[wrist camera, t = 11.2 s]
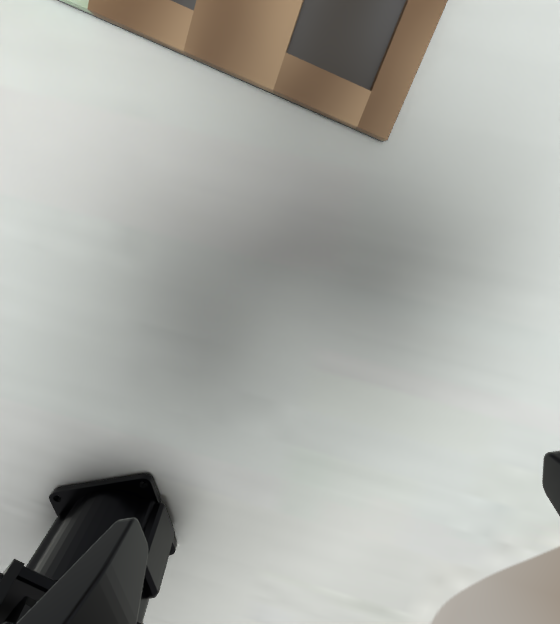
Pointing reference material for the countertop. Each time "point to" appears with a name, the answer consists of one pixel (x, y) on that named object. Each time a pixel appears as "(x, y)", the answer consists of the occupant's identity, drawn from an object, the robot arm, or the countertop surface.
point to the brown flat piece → (296, 47)
